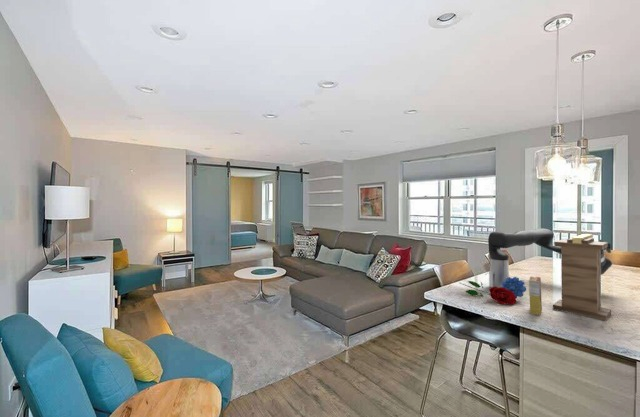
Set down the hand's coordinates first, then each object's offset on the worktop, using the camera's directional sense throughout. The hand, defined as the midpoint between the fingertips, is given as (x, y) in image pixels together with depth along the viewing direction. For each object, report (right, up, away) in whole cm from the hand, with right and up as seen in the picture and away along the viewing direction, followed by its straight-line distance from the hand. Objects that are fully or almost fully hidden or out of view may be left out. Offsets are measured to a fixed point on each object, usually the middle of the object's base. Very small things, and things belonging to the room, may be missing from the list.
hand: (588, 240), depth 141 cm
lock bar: (-10, +1, -7) cm, 12 cm away
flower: (-46, -32, +10) cm, 57 cm away
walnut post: (-13, -31, -10) cm, 36 cm away
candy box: (-33, -32, -10) cm, 47 cm away
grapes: (-31, -32, +8) cm, 45 cm away
